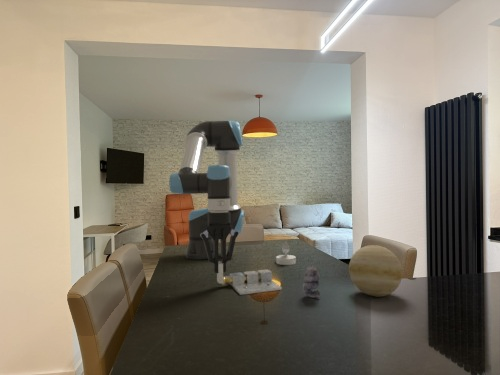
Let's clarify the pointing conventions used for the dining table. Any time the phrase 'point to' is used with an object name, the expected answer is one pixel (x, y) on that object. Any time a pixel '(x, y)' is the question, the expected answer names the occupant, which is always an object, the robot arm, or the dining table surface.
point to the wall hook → (285, 256)
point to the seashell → (311, 282)
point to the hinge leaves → (253, 282)
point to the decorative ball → (375, 270)
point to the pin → (229, 280)
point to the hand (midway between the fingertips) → (220, 282)
